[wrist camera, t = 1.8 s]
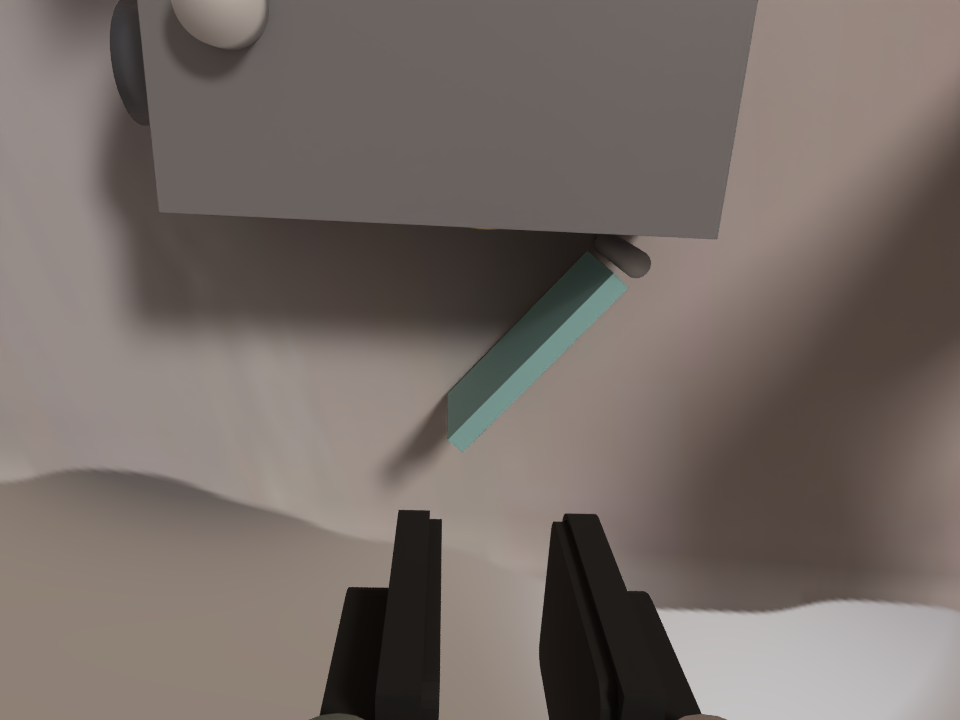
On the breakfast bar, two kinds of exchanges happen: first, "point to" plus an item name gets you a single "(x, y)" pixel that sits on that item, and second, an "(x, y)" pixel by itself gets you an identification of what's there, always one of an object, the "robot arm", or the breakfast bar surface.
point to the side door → (540, 338)
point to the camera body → (441, 109)
